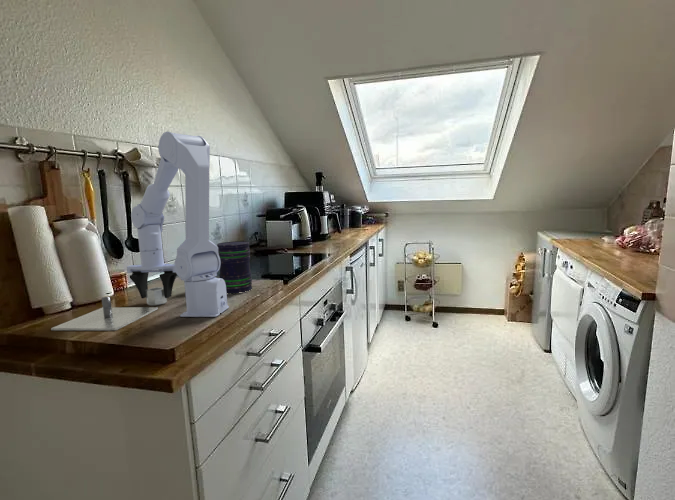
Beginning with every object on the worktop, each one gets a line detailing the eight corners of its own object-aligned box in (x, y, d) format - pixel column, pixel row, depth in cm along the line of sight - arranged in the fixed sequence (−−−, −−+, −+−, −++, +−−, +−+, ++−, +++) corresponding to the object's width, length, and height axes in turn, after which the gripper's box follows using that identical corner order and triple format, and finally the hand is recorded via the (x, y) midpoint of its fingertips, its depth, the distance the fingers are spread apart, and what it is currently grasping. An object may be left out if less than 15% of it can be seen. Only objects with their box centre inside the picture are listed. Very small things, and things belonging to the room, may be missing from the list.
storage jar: (228, 286, 122) (225, 241, 120) (257, 286, 121) (254, 240, 119) (214, 294, 113) (210, 245, 111) (245, 294, 111) (241, 244, 109)
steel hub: (169, 300, 107) (168, 287, 107) (160, 305, 102) (158, 291, 102) (154, 300, 108) (152, 287, 107) (143, 305, 103) (142, 291, 102)
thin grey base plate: (157, 309, 99) (155, 289, 98) (115, 330, 83) (112, 306, 82) (102, 309, 101) (100, 289, 100) (51, 330, 85) (47, 307, 84)
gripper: (183, 247, 106) (187, 293, 108) (136, 248, 108) (141, 293, 110) (169, 250, 99) (174, 300, 101) (119, 252, 101) (125, 300, 103)
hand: (156, 297), depth 105 cm, fingers open, 6 cm apart
